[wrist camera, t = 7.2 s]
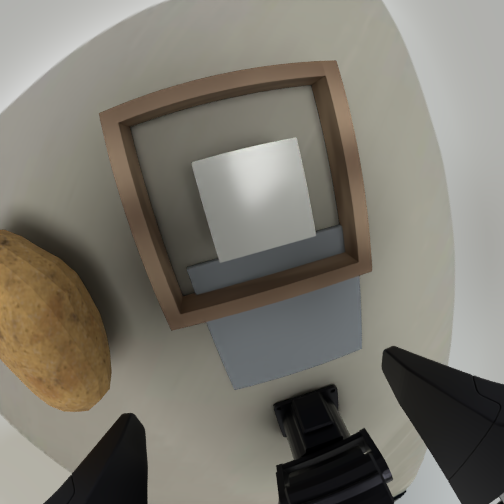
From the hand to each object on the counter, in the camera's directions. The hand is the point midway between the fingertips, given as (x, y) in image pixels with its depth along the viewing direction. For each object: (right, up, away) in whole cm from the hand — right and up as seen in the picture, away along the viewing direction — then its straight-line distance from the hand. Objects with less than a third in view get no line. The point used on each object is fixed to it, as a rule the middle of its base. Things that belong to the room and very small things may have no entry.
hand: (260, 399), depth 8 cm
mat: (+2, 0, +13) cm, 13 cm away
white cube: (-1, +9, +9) cm, 13 cm away
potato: (-16, +2, +10) cm, 18 cm away
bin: (-1, +9, +9) cm, 13 cm away
